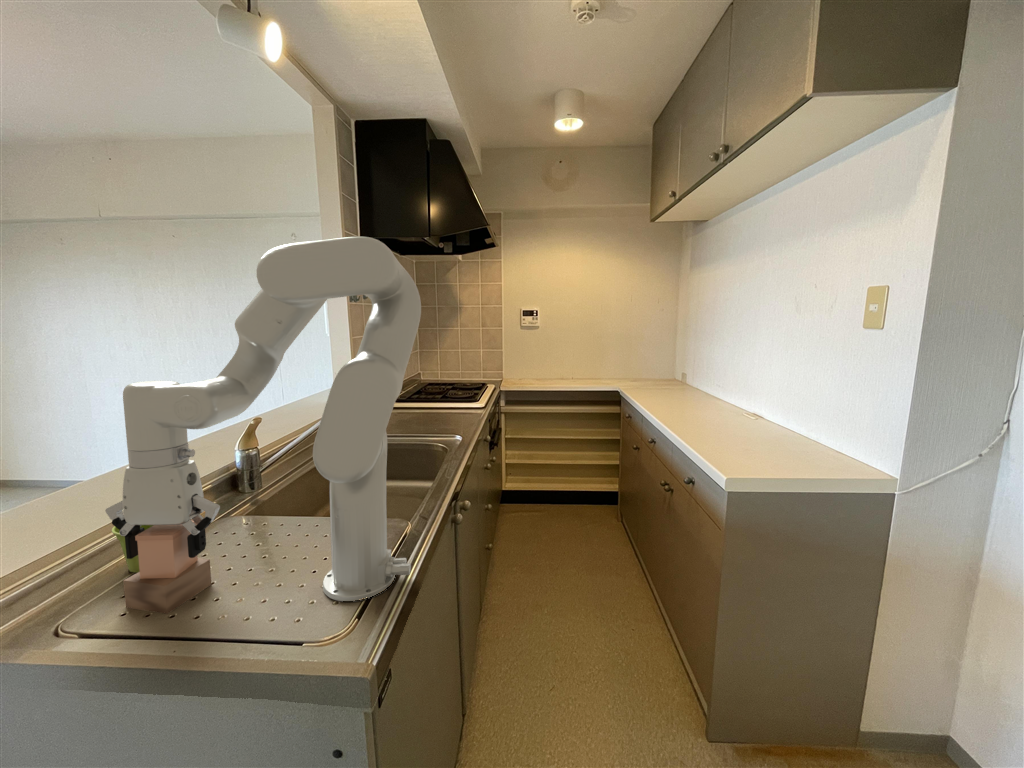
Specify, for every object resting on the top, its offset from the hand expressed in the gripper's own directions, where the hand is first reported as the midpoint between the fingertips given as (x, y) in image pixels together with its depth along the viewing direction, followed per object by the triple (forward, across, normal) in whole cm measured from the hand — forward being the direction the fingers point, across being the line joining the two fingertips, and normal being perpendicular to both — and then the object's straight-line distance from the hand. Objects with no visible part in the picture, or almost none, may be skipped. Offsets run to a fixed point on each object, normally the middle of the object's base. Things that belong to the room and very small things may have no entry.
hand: (167, 554), depth 69 cm
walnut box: (+8, 0, 0) cm, 8 cm away
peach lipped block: (+3, 0, 0) cm, 3 cm away
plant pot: (+8, +11, -10) cm, 17 cm away
